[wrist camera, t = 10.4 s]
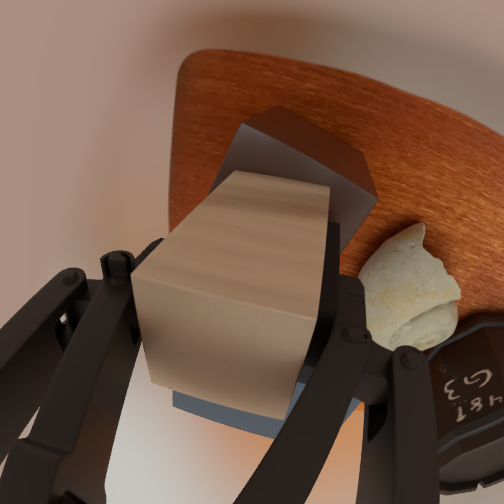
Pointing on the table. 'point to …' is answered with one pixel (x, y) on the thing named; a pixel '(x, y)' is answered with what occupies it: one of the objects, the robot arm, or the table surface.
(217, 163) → the table surface
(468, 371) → the octagonal dark pot
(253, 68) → the table surface
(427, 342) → the seashell
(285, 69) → the table surface
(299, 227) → the block
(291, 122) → the plinth
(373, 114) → the table surface
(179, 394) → the lid
